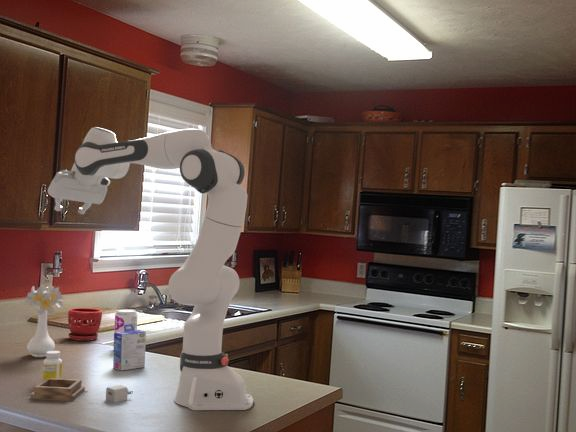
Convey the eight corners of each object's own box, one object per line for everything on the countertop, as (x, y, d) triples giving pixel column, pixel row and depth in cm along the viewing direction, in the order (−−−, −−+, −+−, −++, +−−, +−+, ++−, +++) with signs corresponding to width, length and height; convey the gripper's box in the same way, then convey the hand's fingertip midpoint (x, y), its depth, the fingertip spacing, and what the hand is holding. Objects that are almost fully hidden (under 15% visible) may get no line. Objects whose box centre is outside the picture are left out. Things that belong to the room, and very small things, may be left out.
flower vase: (30, 362, 233) (33, 289, 233) (16, 352, 248) (20, 283, 248) (68, 359, 240) (72, 288, 240) (53, 349, 255) (56, 282, 255)
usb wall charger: (105, 401, 193) (106, 386, 193) (126, 396, 198) (126, 383, 198) (114, 404, 190) (114, 389, 190) (134, 399, 195) (135, 385, 195)
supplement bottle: (54, 381, 211) (56, 349, 211) (64, 384, 208) (66, 352, 208) (38, 384, 207) (40, 351, 207) (48, 387, 203) (50, 354, 203)
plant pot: (95, 342, 272) (96, 312, 272) (62, 341, 272) (63, 310, 272) (104, 336, 285) (106, 308, 285) (73, 335, 285) (74, 306, 285)
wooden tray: (84, 391, 200) (85, 380, 200) (73, 400, 190) (74, 388, 190) (43, 388, 200) (44, 377, 200) (30, 398, 190) (30, 386, 190)
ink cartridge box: (136, 364, 239) (138, 322, 239) (145, 367, 235) (147, 325, 235) (111, 368, 231) (113, 325, 231) (120, 371, 228) (122, 327, 228)
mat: (88, 392, 201) (88, 390, 201) (76, 402, 190) (76, 401, 190) (40, 389, 201) (40, 388, 201) (25, 399, 190) (26, 398, 190)
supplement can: (119, 353, 255) (121, 312, 255) (109, 349, 261) (111, 309, 261) (139, 351, 260) (141, 311, 260) (129, 347, 267) (130, 308, 266)
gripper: (64, 173, 211) (47, 213, 214) (114, 182, 228) (98, 219, 231) (53, 164, 214) (37, 204, 217) (103, 174, 231) (88, 210, 234)
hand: (69, 211), depth 224 cm, fingers open, 8 cm apart
